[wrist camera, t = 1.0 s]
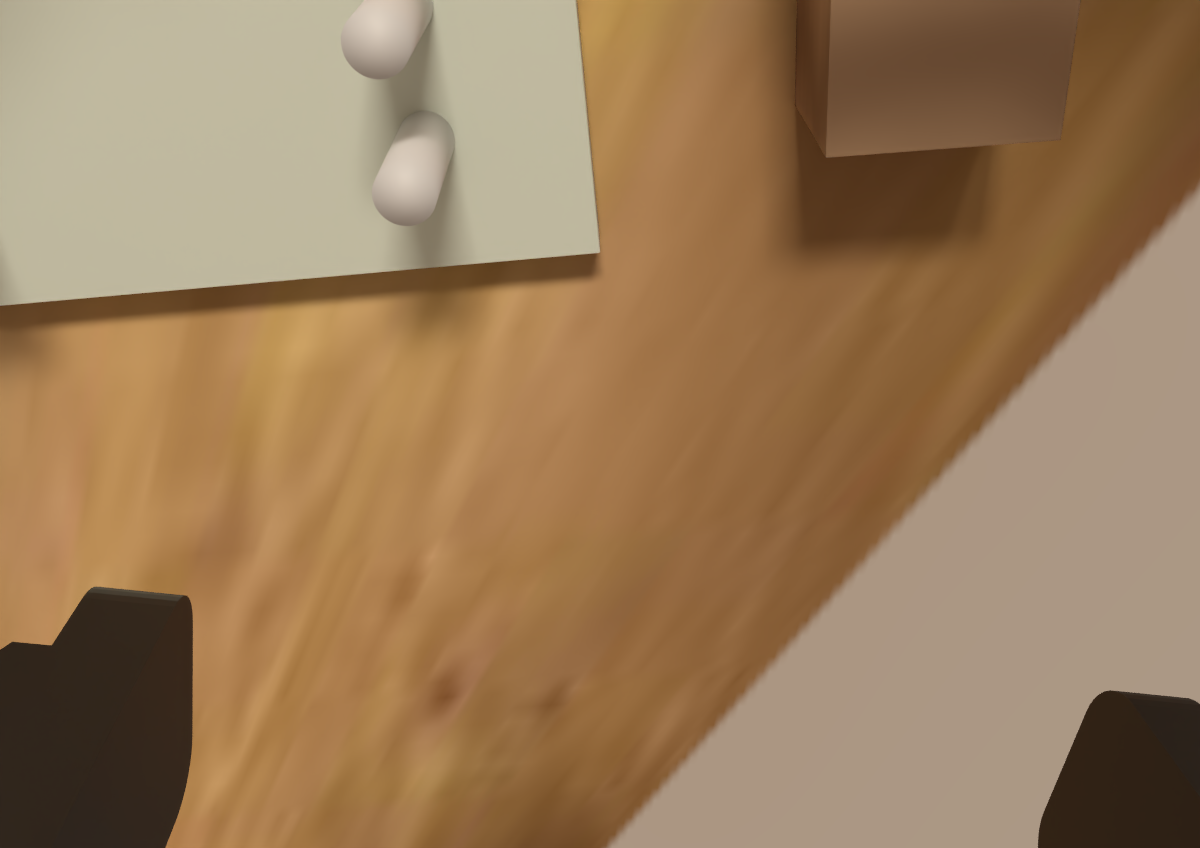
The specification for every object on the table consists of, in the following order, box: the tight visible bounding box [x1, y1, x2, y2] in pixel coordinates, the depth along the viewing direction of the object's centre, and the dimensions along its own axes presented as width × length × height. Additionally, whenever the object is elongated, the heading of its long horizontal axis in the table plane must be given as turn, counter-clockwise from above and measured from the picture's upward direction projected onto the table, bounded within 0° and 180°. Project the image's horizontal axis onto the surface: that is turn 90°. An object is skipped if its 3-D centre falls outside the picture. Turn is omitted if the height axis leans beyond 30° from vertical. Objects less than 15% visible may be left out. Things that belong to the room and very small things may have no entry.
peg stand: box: [0, 0, 600, 306], centre depth 26 cm, size 10×20×5 cm, turn 95°
